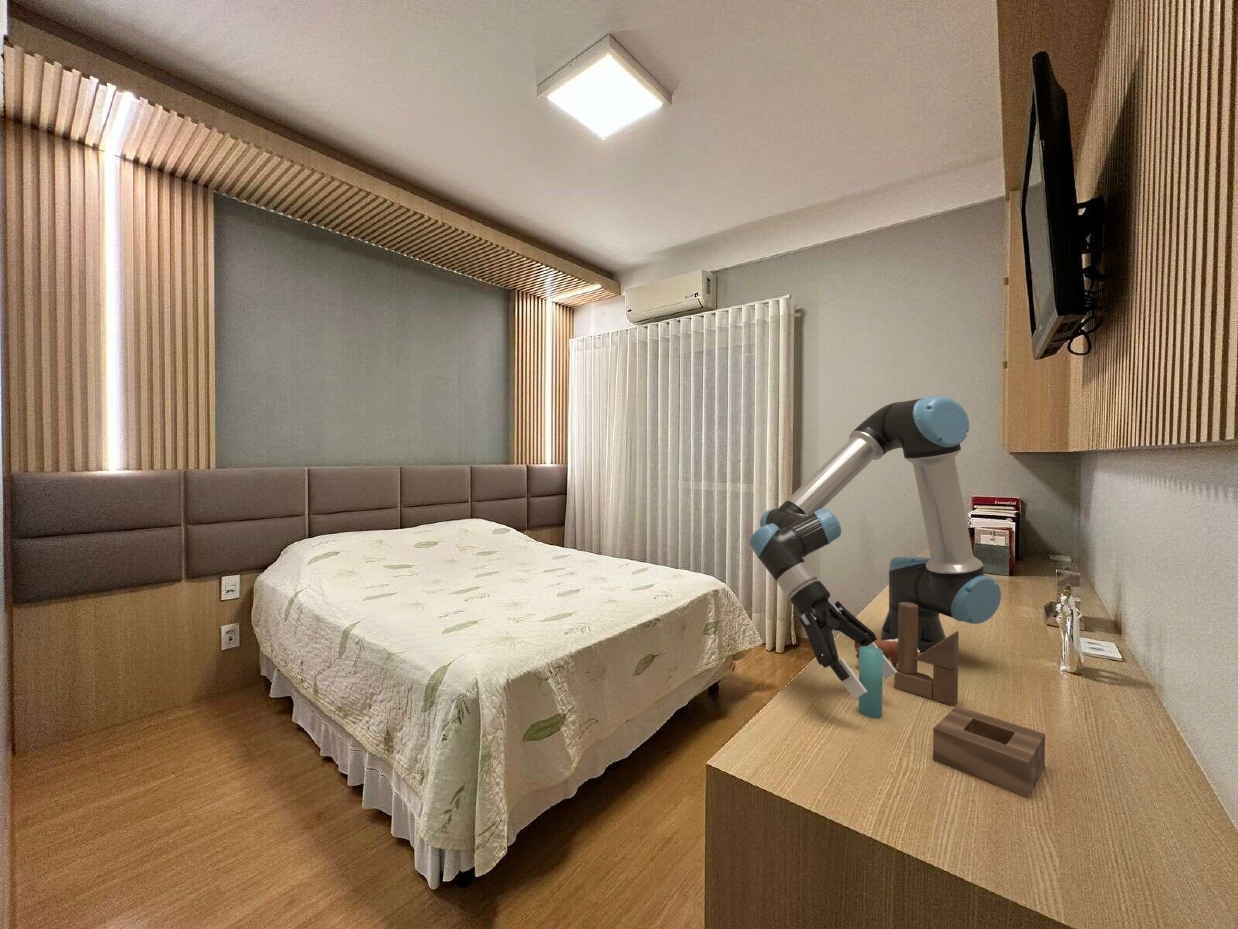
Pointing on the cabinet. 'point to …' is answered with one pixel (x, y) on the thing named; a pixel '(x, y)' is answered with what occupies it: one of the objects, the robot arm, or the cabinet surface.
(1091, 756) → the cabinet surface
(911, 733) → the cabinet surface
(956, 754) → the socket block
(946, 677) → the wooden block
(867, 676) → the peg
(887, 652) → the bull figurine
